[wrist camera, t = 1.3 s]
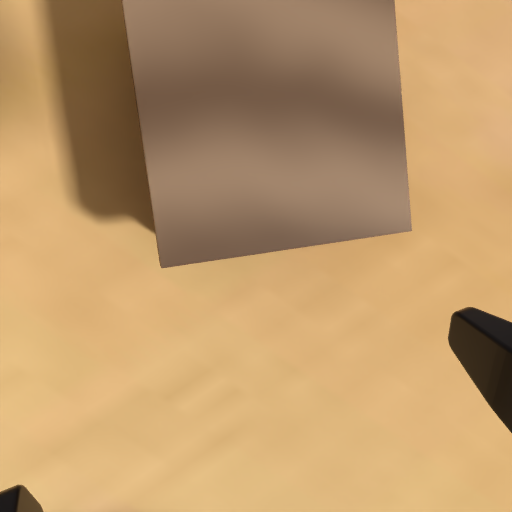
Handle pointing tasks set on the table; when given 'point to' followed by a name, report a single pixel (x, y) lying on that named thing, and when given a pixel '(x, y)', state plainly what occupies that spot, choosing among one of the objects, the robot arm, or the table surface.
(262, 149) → the small stand
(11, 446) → the table surface
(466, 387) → the table surface
